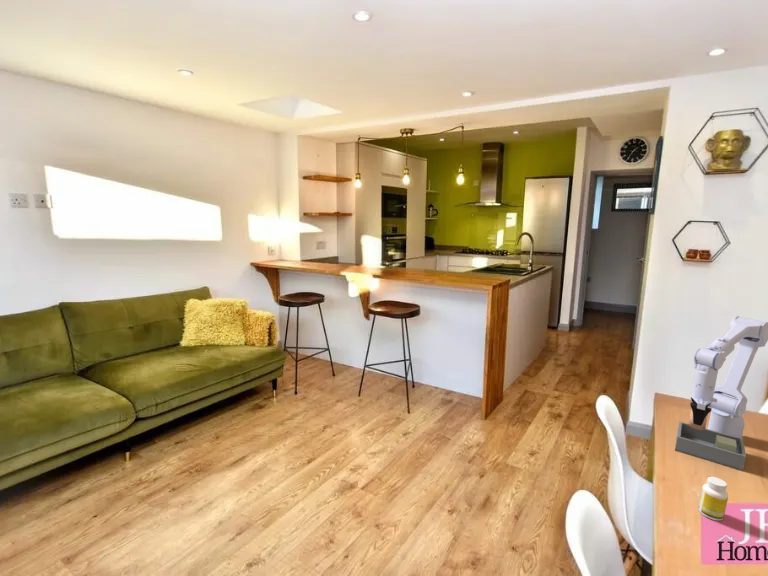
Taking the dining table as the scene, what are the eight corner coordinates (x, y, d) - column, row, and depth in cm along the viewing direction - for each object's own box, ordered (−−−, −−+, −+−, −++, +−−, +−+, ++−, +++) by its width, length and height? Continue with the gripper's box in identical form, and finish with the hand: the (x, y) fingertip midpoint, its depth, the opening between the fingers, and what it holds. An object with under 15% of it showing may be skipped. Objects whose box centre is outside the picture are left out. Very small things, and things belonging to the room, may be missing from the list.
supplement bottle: (728, 523, 107) (735, 489, 105) (704, 519, 108) (711, 486, 106) (716, 508, 112) (722, 476, 110) (693, 505, 113) (699, 473, 111)
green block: (713, 448, 140) (716, 434, 139) (732, 453, 137) (735, 440, 136) (714, 454, 136) (717, 441, 135) (733, 460, 133) (736, 446, 132)
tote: (740, 452, 140) (743, 438, 139) (743, 471, 129) (746, 456, 128) (677, 434, 150) (679, 421, 149) (675, 450, 139) (677, 436, 138)
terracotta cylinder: (685, 423, 143) (688, 404, 141) (698, 423, 143) (702, 404, 141) (694, 430, 138) (698, 410, 137) (708, 430, 138) (712, 411, 137)
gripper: (720, 394, 130) (712, 434, 132) (719, 380, 141) (712, 417, 143) (692, 388, 134) (685, 426, 136) (693, 375, 145) (687, 410, 148)
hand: (697, 421), depth 140 cm, fingers closed on terracotta cylinder, 5 cm apart
